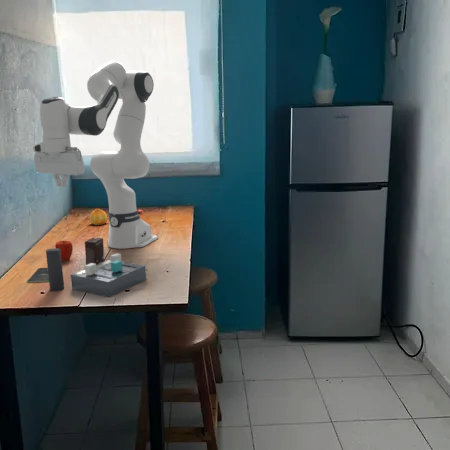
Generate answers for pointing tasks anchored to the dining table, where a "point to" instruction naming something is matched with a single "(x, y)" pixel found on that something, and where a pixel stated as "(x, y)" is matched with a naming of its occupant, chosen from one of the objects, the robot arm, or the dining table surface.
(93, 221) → the fruit
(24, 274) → the dining table surface
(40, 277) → the smartphone
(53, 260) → the post
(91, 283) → the panel
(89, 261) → the box
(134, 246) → the robot arm
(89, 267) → the slider
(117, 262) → the slider mid
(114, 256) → the slider
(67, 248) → the apple
